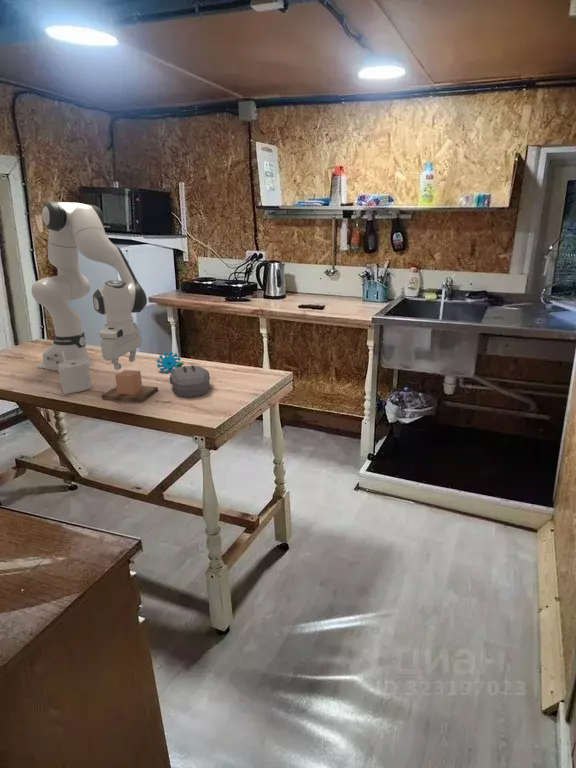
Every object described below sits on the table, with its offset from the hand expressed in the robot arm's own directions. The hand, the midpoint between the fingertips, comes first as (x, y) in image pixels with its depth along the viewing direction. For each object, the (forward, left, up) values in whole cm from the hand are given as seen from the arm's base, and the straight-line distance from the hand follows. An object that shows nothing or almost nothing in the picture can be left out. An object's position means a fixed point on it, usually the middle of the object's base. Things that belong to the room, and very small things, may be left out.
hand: (125, 365), depth 178 cm
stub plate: (+1, 0, -12) cm, 12 cm away
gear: (+2, +29, -12) cm, 32 cm away
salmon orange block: (+1, 0, -10) cm, 10 cm away
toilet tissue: (-23, +2, -12) cm, 26 cm away
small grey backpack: (+20, +10, -12) cm, 26 cm away
